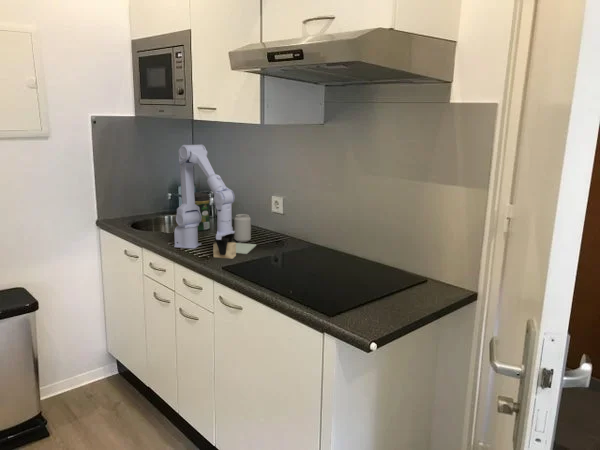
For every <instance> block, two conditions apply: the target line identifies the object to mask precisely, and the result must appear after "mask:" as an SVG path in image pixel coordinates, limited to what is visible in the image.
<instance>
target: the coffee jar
mask: <svg viewBox="0 0 600 450" xmlns="http://www.w3.org/2000/svg"><path fill="white" fill-rule="evenodd" d="M194 197H195V204H196V205H197V206H198V207H199V208H200V213H201V217H202V218H201V222H200V223H199V226H198V231H199V232H200V231H202V232H205V231H208V230H210V229H211V222H210V195H209V194H208V193H203V192H201V191H194ZM190 211H192V210H190Z"/></svg>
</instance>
